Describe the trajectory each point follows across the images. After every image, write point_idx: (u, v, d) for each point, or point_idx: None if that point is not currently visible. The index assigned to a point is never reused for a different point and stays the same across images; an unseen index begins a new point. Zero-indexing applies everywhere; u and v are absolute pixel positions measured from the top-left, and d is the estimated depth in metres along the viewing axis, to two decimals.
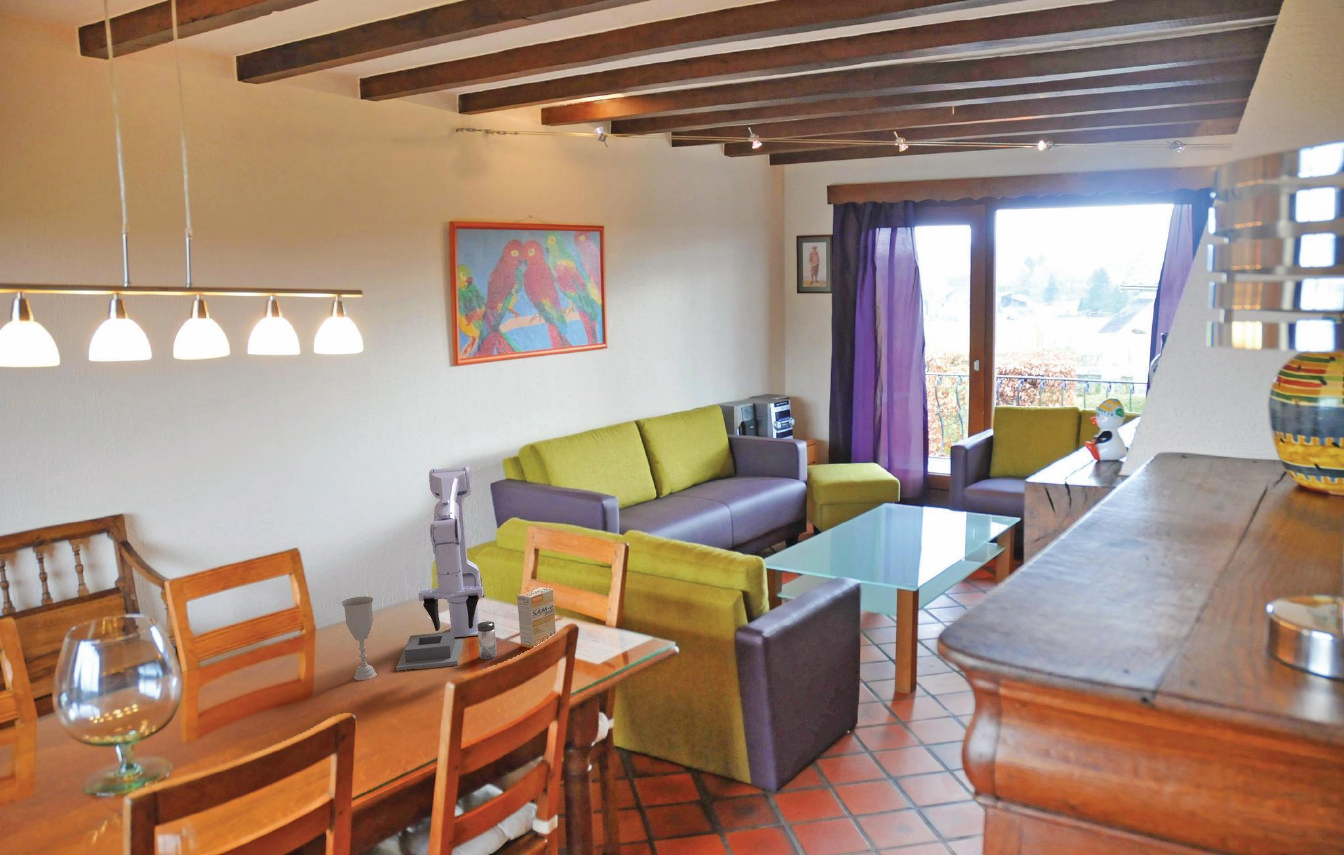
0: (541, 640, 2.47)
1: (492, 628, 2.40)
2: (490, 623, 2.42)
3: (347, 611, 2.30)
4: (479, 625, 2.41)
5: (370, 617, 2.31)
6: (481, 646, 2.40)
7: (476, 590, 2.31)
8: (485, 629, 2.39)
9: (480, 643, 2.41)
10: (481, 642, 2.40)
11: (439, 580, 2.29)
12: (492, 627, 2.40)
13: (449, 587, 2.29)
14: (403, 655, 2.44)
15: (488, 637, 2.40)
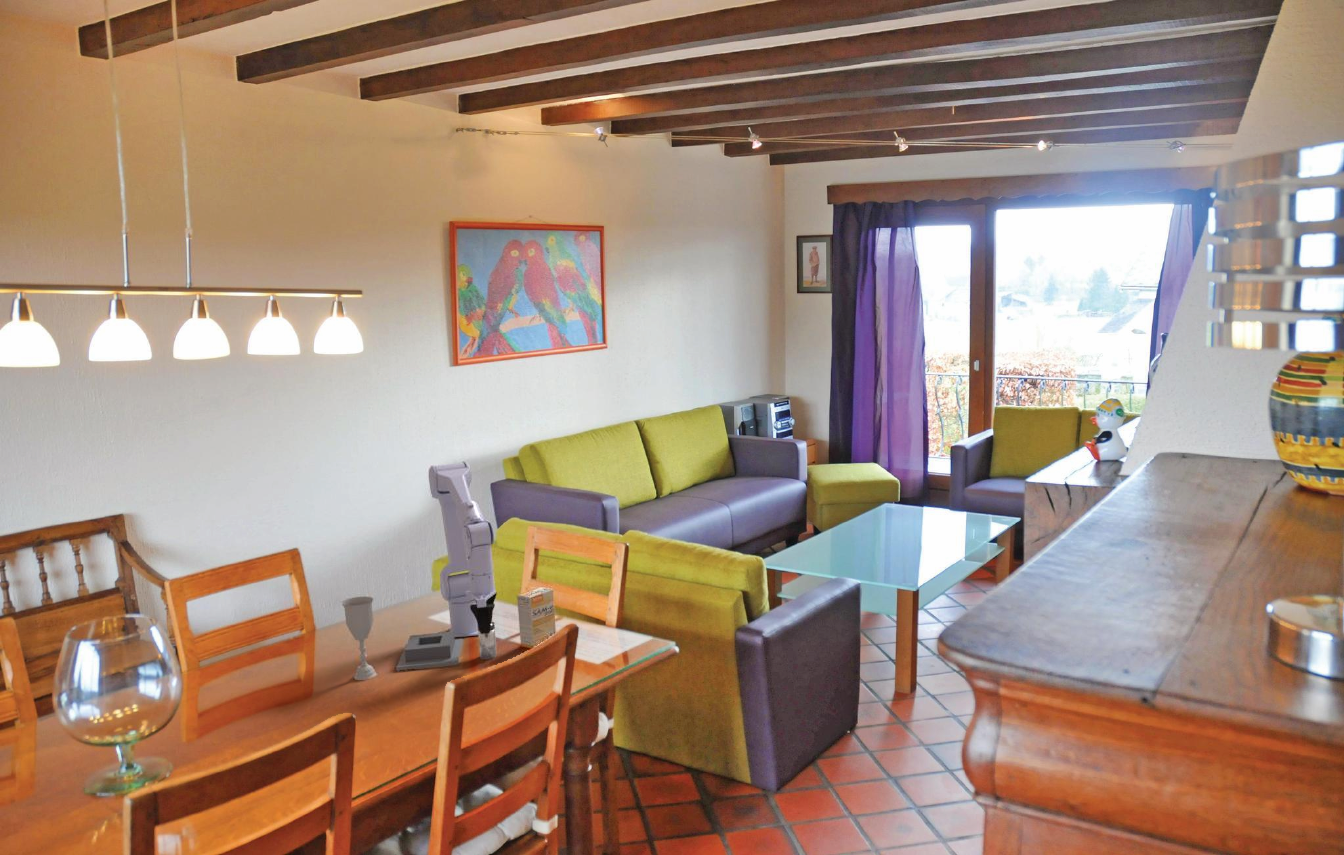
0: (541, 640, 2.47)
1: (492, 628, 2.40)
2: None
3: (347, 611, 2.30)
4: None
5: (370, 617, 2.31)
6: (481, 646, 2.40)
7: (476, 599, 2.34)
8: None
9: (480, 643, 2.41)
10: (481, 642, 2.40)
11: None
12: (492, 627, 2.40)
13: (470, 586, 2.39)
14: (403, 655, 2.44)
15: (488, 637, 2.40)
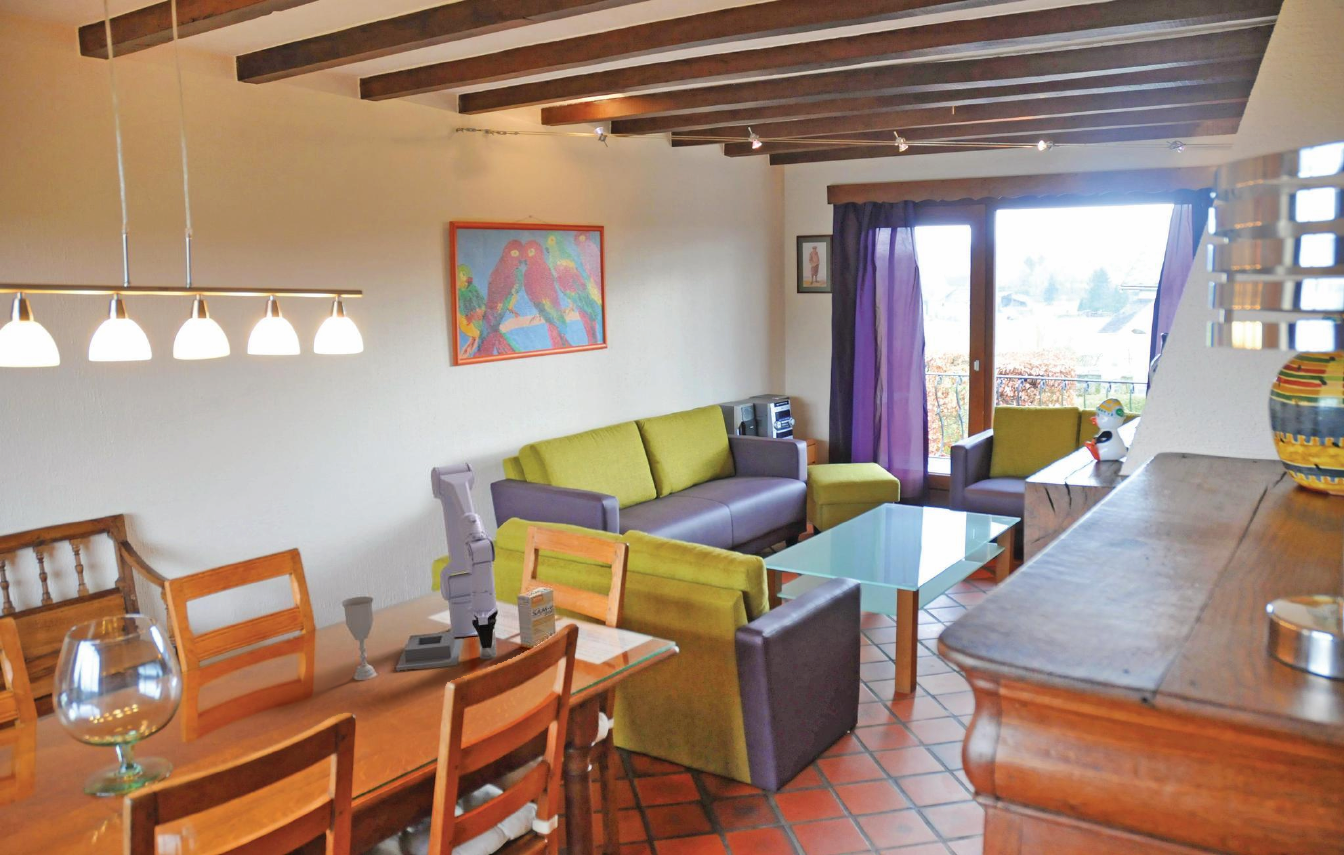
0: (541, 640, 2.47)
1: None
2: None
3: (347, 611, 2.30)
4: None
5: (370, 617, 2.31)
6: (481, 646, 2.40)
7: (478, 616, 2.35)
8: None
9: (480, 643, 2.41)
10: None
11: None
12: None
13: (471, 603, 2.40)
14: (403, 655, 2.44)
15: None
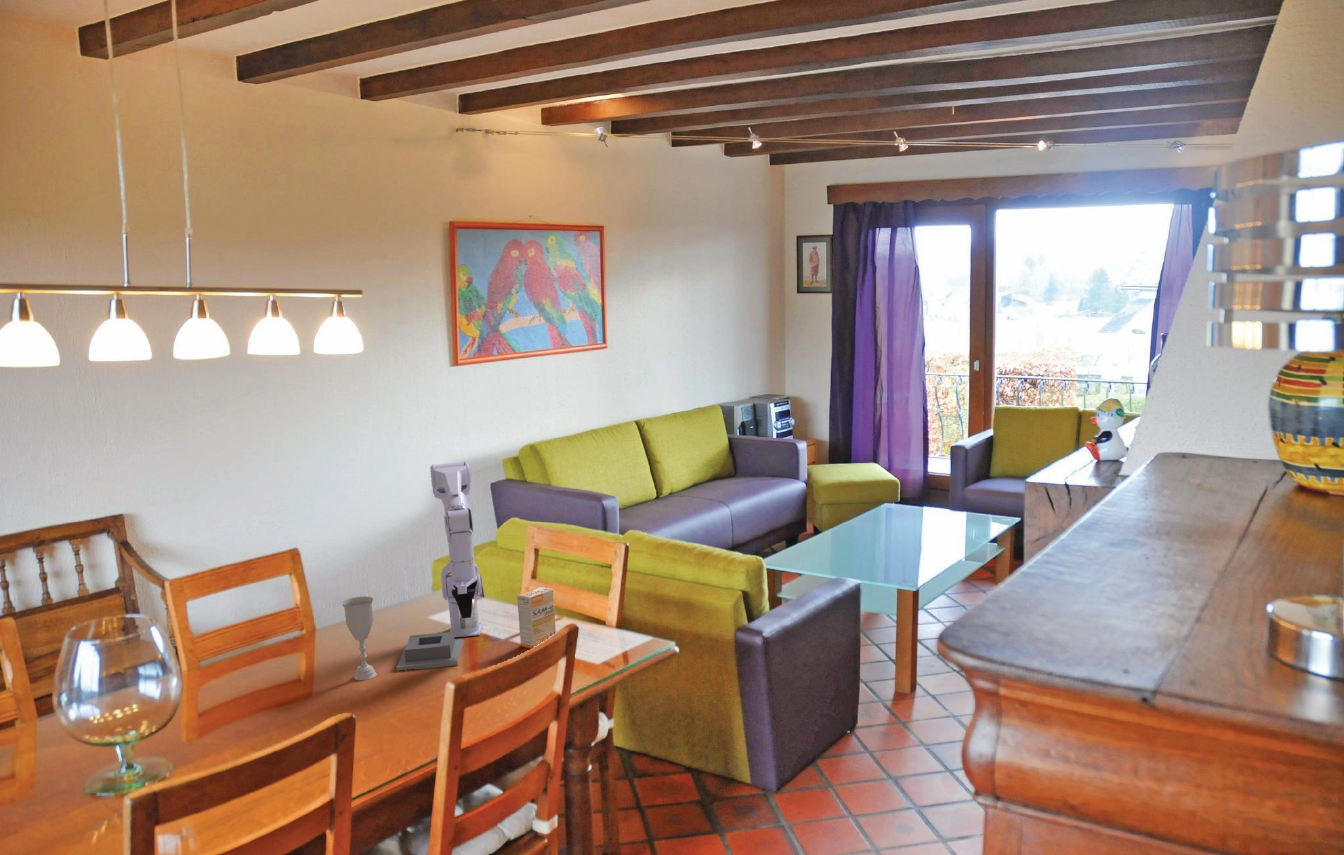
0: (541, 640, 2.47)
1: None
2: None
3: (347, 611, 2.30)
4: None
5: (370, 617, 2.31)
6: None
7: (457, 586, 2.35)
8: None
9: None
10: None
11: None
12: None
13: (451, 573, 2.40)
14: (403, 655, 2.44)
15: None
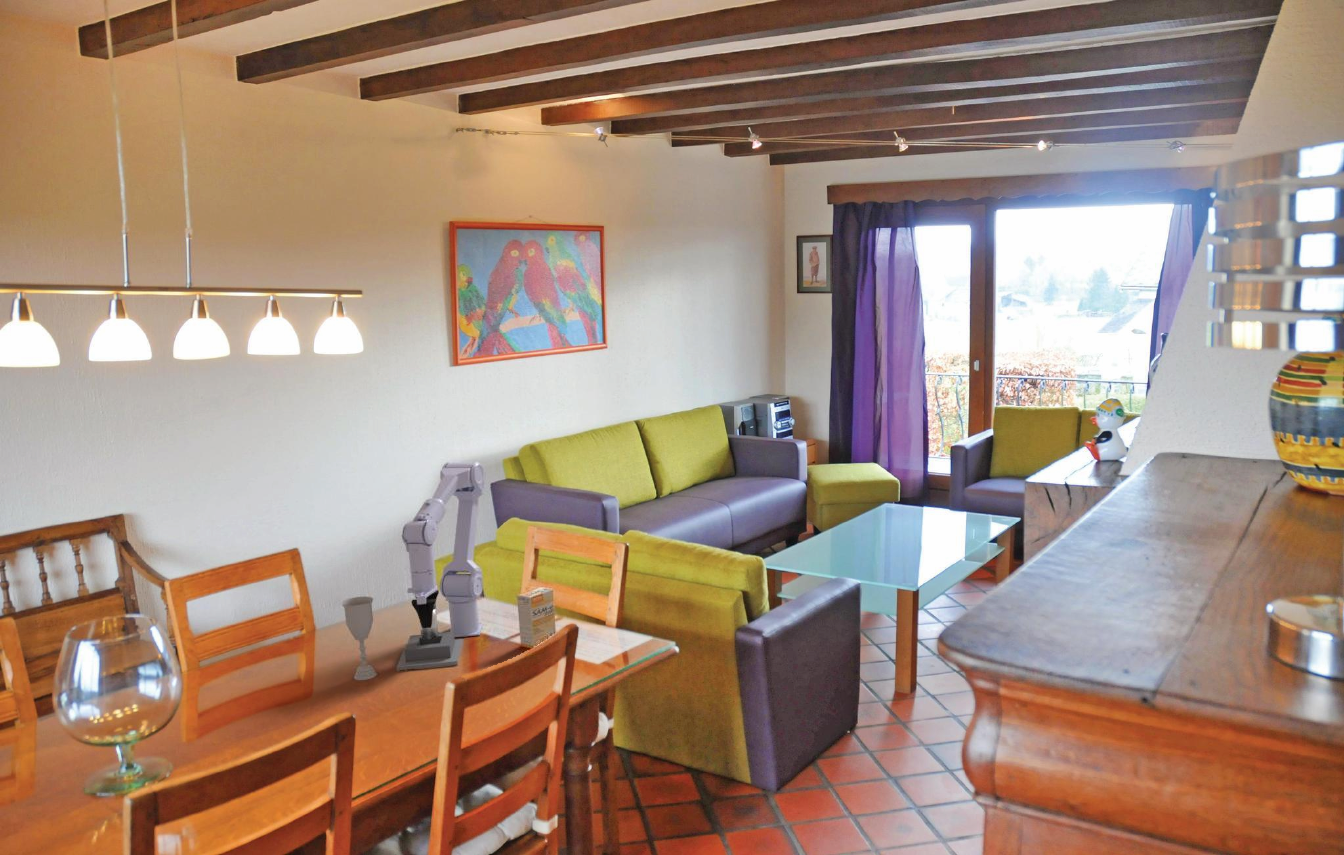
0: (541, 640, 2.47)
1: (433, 608, 2.42)
2: None
3: (347, 611, 2.30)
4: None
5: (370, 617, 2.31)
6: (421, 626, 2.42)
7: (416, 596, 2.36)
8: None
9: None
10: None
11: None
12: None
13: None
14: (403, 655, 2.44)
15: None
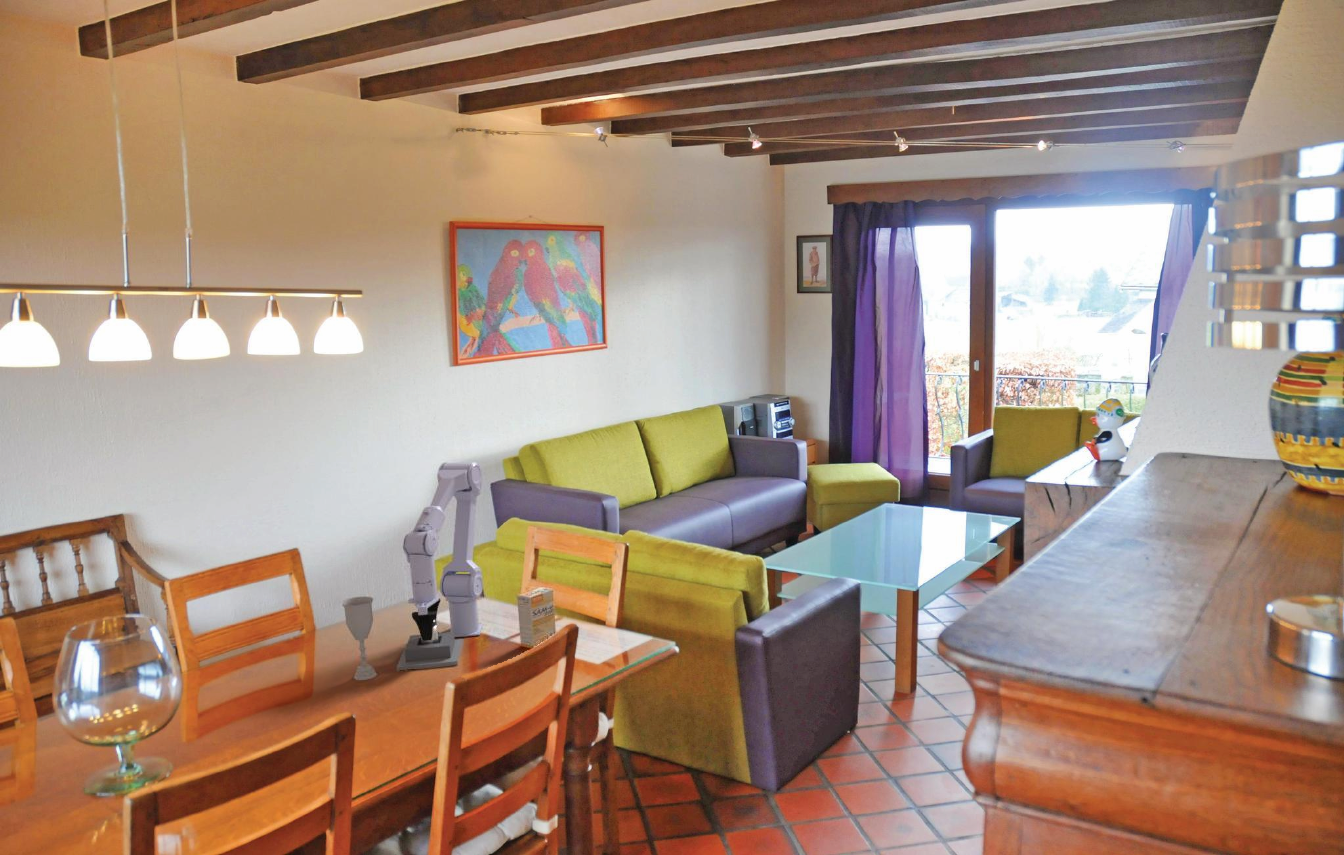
0: (541, 640, 2.47)
1: (433, 624, 2.42)
2: None
3: (347, 611, 2.30)
4: None
5: (370, 617, 2.31)
6: (423, 642, 2.43)
7: (417, 607, 2.37)
8: None
9: None
10: None
11: None
12: (433, 624, 2.42)
13: None
14: (403, 655, 2.44)
15: None
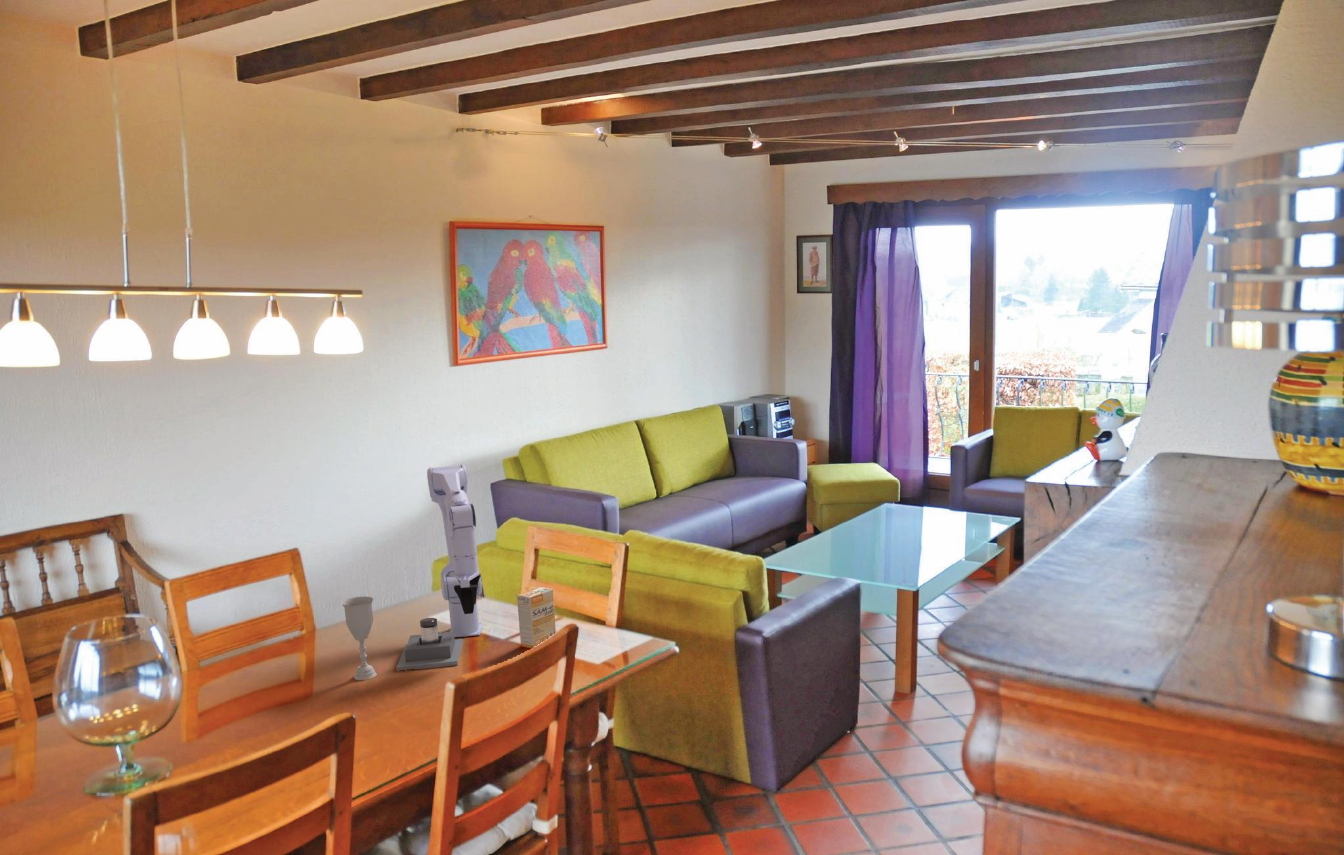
0: (541, 640, 2.47)
1: (434, 625, 2.43)
2: (433, 619, 2.44)
3: (347, 611, 2.30)
4: (421, 621, 2.43)
5: (370, 617, 2.31)
6: (423, 642, 2.43)
7: (459, 579, 2.39)
8: (427, 625, 2.42)
9: (422, 639, 2.43)
10: (423, 638, 2.42)
11: None
12: (434, 624, 2.43)
13: (454, 567, 2.44)
14: (403, 655, 2.44)
15: (429, 633, 2.42)
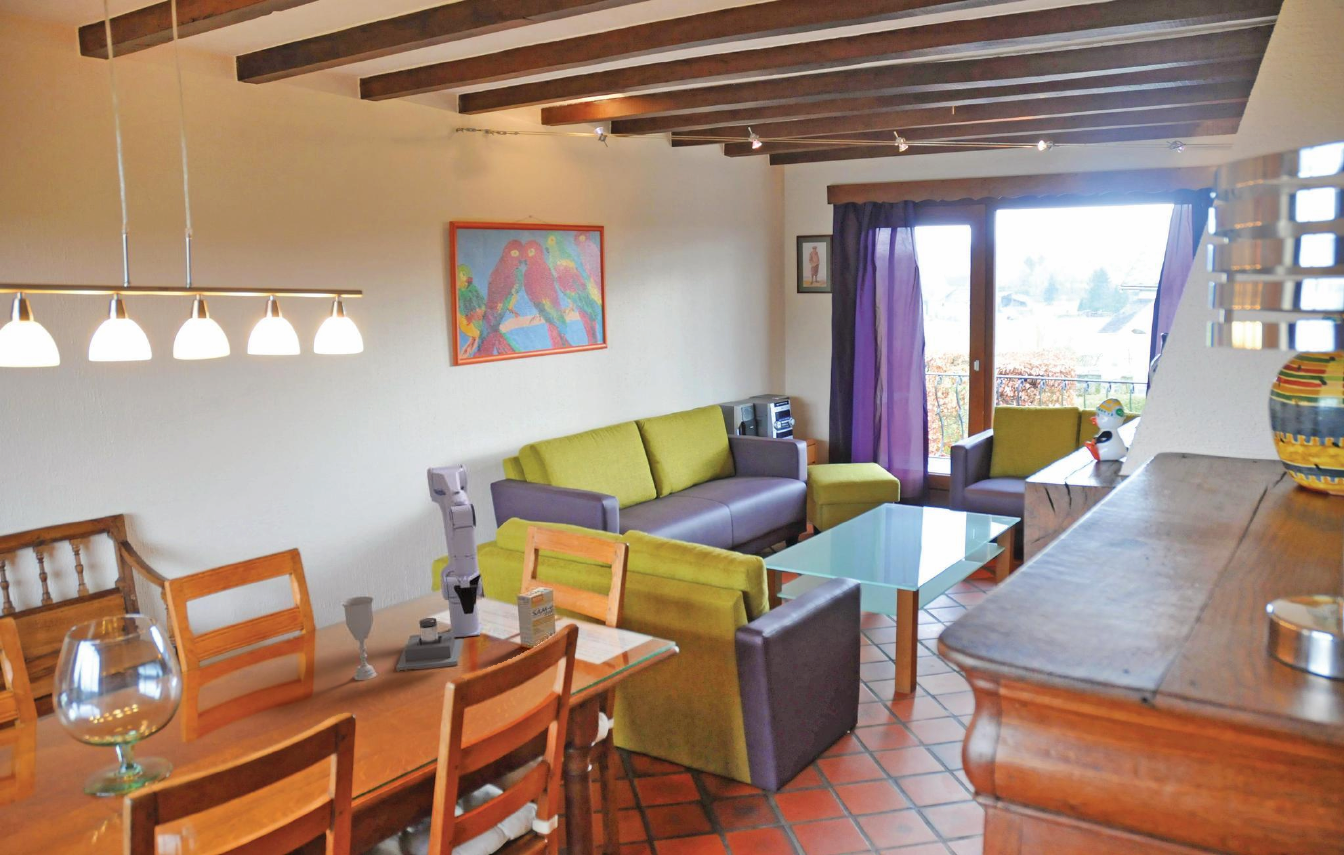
0: (541, 640, 2.47)
1: (433, 624, 2.43)
2: (432, 619, 2.44)
3: (347, 611, 2.30)
4: (421, 621, 2.43)
5: (370, 617, 2.31)
6: (423, 642, 2.43)
7: (459, 579, 2.39)
8: (426, 625, 2.42)
9: (422, 639, 2.43)
10: (423, 638, 2.42)
11: None
12: (433, 623, 2.43)
13: (454, 567, 2.44)
14: (403, 655, 2.44)
15: (429, 633, 2.42)
